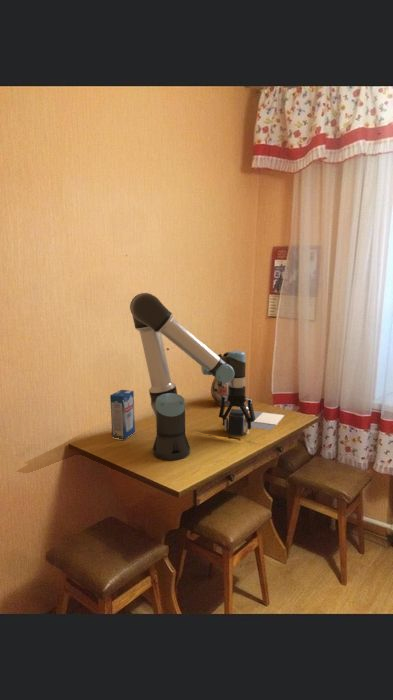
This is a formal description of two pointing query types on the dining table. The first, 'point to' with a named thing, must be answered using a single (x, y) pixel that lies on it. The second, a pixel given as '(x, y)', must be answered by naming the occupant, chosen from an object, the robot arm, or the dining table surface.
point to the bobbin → (248, 412)
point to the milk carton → (122, 414)
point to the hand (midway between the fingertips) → (236, 434)
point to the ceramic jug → (220, 388)
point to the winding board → (266, 420)
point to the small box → (236, 423)
